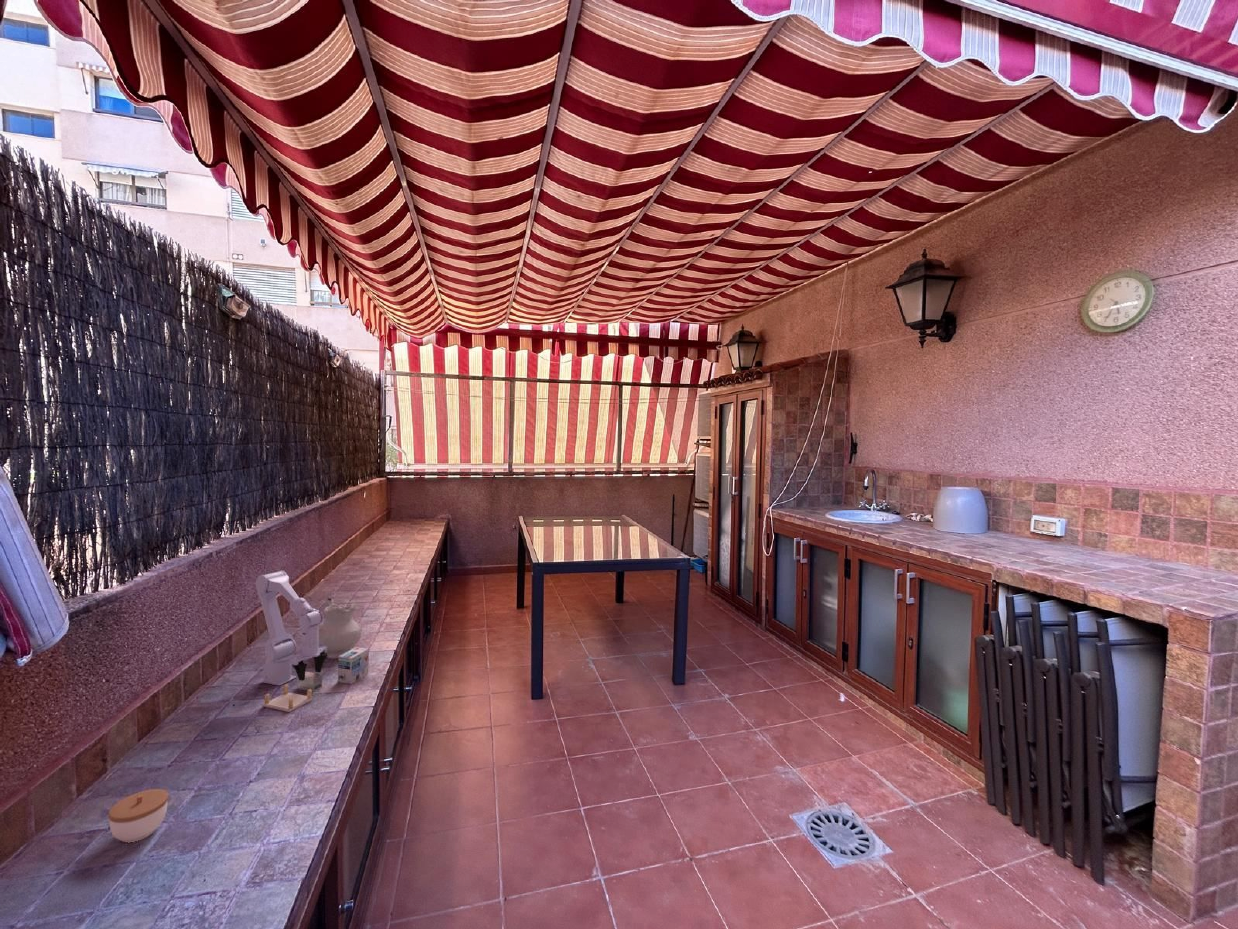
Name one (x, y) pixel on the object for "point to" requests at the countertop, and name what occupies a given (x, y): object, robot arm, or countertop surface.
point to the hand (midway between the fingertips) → (309, 676)
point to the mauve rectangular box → (310, 682)
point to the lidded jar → (138, 815)
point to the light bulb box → (353, 665)
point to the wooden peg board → (287, 700)
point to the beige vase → (338, 629)
